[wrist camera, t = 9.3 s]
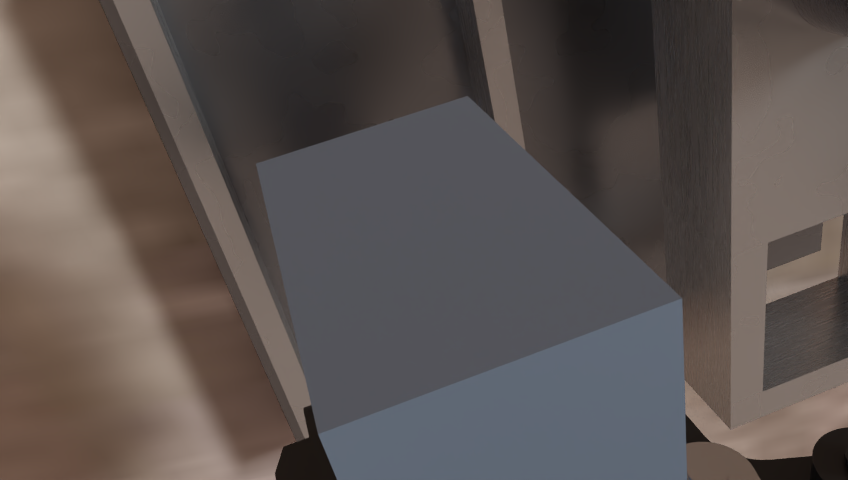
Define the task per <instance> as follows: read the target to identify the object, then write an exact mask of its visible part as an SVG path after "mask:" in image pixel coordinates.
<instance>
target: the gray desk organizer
mask: <svg viewBox="0 0 848 480" xmlns="http://www.w3.org/2000/svg"><path fill="white" fill-rule="evenodd" d="M99 1H100V3H101V6H102V8H103V10H104V12H105V15H106V17H107V19H108V21H109V23H110V26H111V28H112V30H113V32H114V35H115V37H116V39H117V41H118V44H119V46H120V48H121V50H122V53H123V55H124V57H125V59H126V61H127V64H128V66H129V68H130V70H131V73H132V75H133V77H134V79H135V82H136V84H137V86H138V88H139V91H140V93H141V95H142V97H143V99H144V102H145V104H146V106H147V108H148V111H149V113H150V115H151V117H152V120H153V122H154V124H155V126H156V129H157V131H158V133H159V135H160V137H161V140H162V142H163V144H164V146H165V149H166V151H167V153H168V155H169V158H170V160H171V162H172V164H173V167H174V169H175V171H176V173H177V175H178V178H179V180H180V182H181V184H182V187H183V189H184V191H185V193H186V196H187V198H188V200H189V202H190V205H191V207H192V209H193V211H194V213H195V216H196V218H197V220H198V222H199V225H200V227H201V229H202V231H203V234H204V236H205V238H206V240H207V242H208V245H209V247H210V249H211V251H212V254H213V256H214V258H215V260H216V263H217V265H218V267H219V269H220V272H221V274H222V276H223V278H224V280H225V283H226V285H227V287H228V289H229V292H230V294H231V296H232V298H233V301H234V303H235V305H236V307H237V310H238V312H239V314H240V316H241V318H242V321H243V323H244V325H245V327H246V330H247V332H248V334H249V336H250V339H251V341H252V343H253V345H254V348H255V350H256V352H257V354H258V356H259V359H260V361H261V363H262V365H263V368H264V370H265V372H266V374H267V377H268V379H269V381H270V383H271V386H272V388H273V390H274V392H275V394H276V397H277V399H278V401H279V403H280V406H281V408H282V410H283V412H284V415H285V417H286V419H287V421H288V424H289V426H290V428H291V430H292V432H293V435H294V437H295V439H296V441H297V442H298V441H301V440H303V439H306V438H309V435H308V430H307V425H306V421H305V416H304V410H303V408H304V407H307V406H309V405H311V401H310V397H309V393H308V388H307V384H306V379H305V375H304V371H303V366H302V362H301V358H300V353H299V349H298V345H297V340H296V336H295V332H294V327H293V323H292V319H291V314H290V310H289V306H288V301H287V297H286V292H285V288H284V284H283V279H282V275H281V271H280V266H279V262H278V258H277V253H276V249H275V245H274V240H273V236H272V232H271V227H270V223H269V219H268V214H267V210H266V205H265V201H264V197H263V192H262V188H261V184H260V179H259V175H258V171H257V166H256V163H259V162H262V161H266V160H269V159H272V158H275V157H278V156H281V155H284V154H287V153H291V152H294V151H297V150H300V149H303V148H306V147H309V146H312V145H316V144H319V143H322V142H325V141H328V140H331V139H334V138H337V137H341V136H344V135H347V134H350V133H353V132H356V131H359V130H362V129H366V128H369V127H372V126H375V125H378V124H381V123H384V122H388V121H391V120H394V119H397V118H400V117H403V116H406V115H409V114H413V113H416V112H419V111H422V110H425V109H428V108H431V107H434V106H438V105H441V104H444V103H447V102H450V101H453V100H456V99H459V98H463V97H466V96H468V97H469V98H470V99H471V100H473V101H474V102H475V103H476V104H477V105H478V106H479V107H480V108H481V109H482V110H483V111H484V112H485V113H486V114H487V115H488V116H489V117H491V118H492V119H493V120H494V121H495V122H496V123H497V124H498V125H499V126H500V127H501V128H502V129H503V130H504V131H505V132H506V133H508V134H509V135H510V136H511V137H512V138H513V139H514V140H515V141H516V142H517V143H518V144H519V145H520V146H521V147H522V148H523V149H524V150H526V151H527V152H528V153H529V154H530V155H531V156H532V157H533V158H534V159H535V160H536V161H537V162H538V163H539V164H540V165H541V166H543V167H544V168H545V169H546V170H547V171H548V172H549V173H550V174H551V175H552V176H553V177H554V178H555V179H556V180H557V181H558V182H559V183H561V184H562V185H563V186H564V187H565V188H566V189H567V190H568V191H569V192H570V193H571V194H572V195H573V196H574V197H575V198H576V199H578V200H579V201H580V202H581V203H582V204H583V205H584V206H585V207H586V208H587V209H588V210H589V211H590V212H591V213H592V214H593V215H594V216H596V217H597V218H598V219H599V220H600V221H601V222H602V223H603V224H604V225H605V226H606V227H607V228H608V229H609V230H610V231H611V232H612V233H614V234H615V235H616V236H617V237H618V238H619V239H620V240H621V241H622V242H623V243H624V244H625V245H626V246H627V247H628V248H629V249H631V250H632V251H633V252H634V253H635V254H636V255H637V256H638V257H639V258H640V259H641V260H642V261H643V262H644V263H645V264H646V265H647V266H649V267H650V268H651V269H652V270H653V271H654V272H655V273H656V274H657V275H658V276H659V277H660V278H661V279H662V280H663V281H664V282H666V283H667V284H668V285H669V286H670V287H671V288H672V289H673V290H674V291H675V292H676V293H677V294H678V295H679V296H680V297H681V298H682V308H683V345H684V380H685V381H686V382H687V383H688V384H689V385H690V386H691V387H692V388H693V390H694V391H695V392H696V393H697V394H698V395H699V396H700V397H701V398H702V399H703V400H704V401H705V403H706V404H707V405H708V406H709V407H710V408H711V409H712V410H713V411H714V412H715V413H716V414H717V416H718V417H719V418H720V419H721V420H722V421H723V422H724V423H725V424H726V425H727V426H728V427H729V429H730V430H731V429H734V428H736V427H738V426H741V425H743V424H746V423H748V422H751V421H753V420H756V419H758V418H761V417H763V416H766V415H768V414H770V413H773V412H775V411H778V410H780V409H783V408H785V407H788V406H790V405H793V404H795V403H798V402H800V401H802V400H805V399H807V398H810V397H812V396H815V395H817V394H820V393H822V392H825V391H827V390H830V389H832V388H834V387H837V386H839V385H842V384H844V383H847V382H848V0H99ZM841 215H844V219H843V229H842V239H841V249H840V260H839V270H838V277H836V278H834V279H831V280H828V281H826V282H823V283H820V284H818V285H815V286H813V287H810V288H807V289H805V290H802V291H800V292H797V293H794V294H792V295H789V296H787V297H784V298H781V299H779V300H776V301H774V302H771V303H768V304H766V282H767V270H769V269H772V268H775V267H777V266H780V265H783V264H785V263H788V262H791V261H793V260H796V259H799V258H801V257H804V256H807V255H809V254H812V253H814V252H817V251H820V250H821V238H822V226H823V222H825V221H828V220H830V219H833V218H836V217H839V216H841Z"/></svg>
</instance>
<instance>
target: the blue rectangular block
mask: <svg viewBox="0 0 848 480" xmlns="http://www.w3.org/2000/svg"><path fill="white" fill-rule="evenodd" d="M256 166H257V171H258V175H259V179H260V184H261V188H262V192H263V197H264V201H265V205H266V210H267V214H268V219H269V223H270V227H271V232H272V236H273V240H274V245H275V249H276V253H277V258H278V262H279V266H280V271H281V275H282V279H283V284H284V288H285V292H286V297H287V301H288V306H289V310H290V314H291V319H292V323H293V327H294V332H295V336H296V340H297V345H298V349H299V353H300V358H301V362H302V366H303V371H304V375H305V379H306V384H307V388H308V393H309V397H310V401H311V406H312V410H313V414H314V419H315V423H316V427H317V432H318V435H319V438H320V440H321V442H322V445H323V447H324V450H325V452H326V454H327V457H328V459H329V461H330V464H331V466H332V469H333V471H334V473H335V476H336V478H337V480H687V456H686V419H685V382H684V345H683V308H682V298H681V297H680V296H679V295H678V294H677V293H676V292H675V291H674V290H673V289H672V288H671V287H670V286H669V285H668V284H667V283H666V282H664V281H663V280H662V279H661V278H660V277H659V276H658V275H657V274H656V273H655V272H654V271H653V270H652V269H651V268H650V267H649V266H647V265H646V264H645V263H644V262H643V261H642V260H641V259H640V258H639V257H638V256H637V255H636V254H635V253H634V252H633V251H632V250H631V249H629V248H628V247H627V246H626V245H625V244H624V243H623V242H622V241H621V240H620V239H619V238H618V237H617V236H616V235H615V234H614V233H612V232H611V231H610V230H609V229H608V228H607V227H606V226H605V225H604V224H603V223H602V222H601V221H600V220H599V219H598V218H597V217H596V216H594V215H593V214H592V213H591V212H590V211H589V210H588V209H587V208H586V207H585V206H584V205H583V204H582V203H581V202H580V201H579V200H578V199H576V198H575V197H574V196H573V195H572V194H571V193H570V192H569V191H568V190H567V189H566V188H565V187H564V186H563V185H562V184H561V183H559V182H558V181H557V180H556V179H555V178H554V177H553V176H552V175H551V174H550V173H549V172H548V171H547V170H546V169H545V168H544V167H543V166H541V165H540V164H539V163H538V162H537V161H536V160H535V159H534V158H533V157H532V156H531V155H530V154H529V153H528V152H527V151H526V150H524V149H523V148H522V147H521V146H520V145H519V144H518V143H517V142H516V141H515V140H514V139H513V138H512V137H511V136H510V135H509V134H508V133H506V132H505V131H504V130H503V129H502V128H501V127H500V126H499V125H498V124H497V123H496V122H495V121H494V120H493V119H492V118H491V117H489V116H488V115H487V114H486V113H485V112H484V111H483V110H482V109H481V108H480V107H479V106H478V105H477V104H476V103H475V102H474V101H473V100H471V99H470V98H469V97H468V96H466V97H463V98H459V99H456V100H453V101H450V102H447V103H444V104H441V105H438V106H434V107H431V108H428V109H425V110H422V111H419V112H416V113H413V114H409V115H406V116H403V117H400V118H397V119H394V120H391V121H388V122H384V123H381V124H378V125H375V126H372V127H369V128H366V129H362V130H359V131H356V132H353V133H350V134H347V135H344V136H341V137H337V138H334V139H331V140H328V141H325V142H322V143H319V144H316V145H312V146H309V147H306V148H303V149H300V150H297V151H294V152H291V153H287V154H284V155H281V156H278V157H275V158H272V159H269V160H266V161H262V162H259V163H256Z"/></svg>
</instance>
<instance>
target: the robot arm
mask: <svg viewBox="0 0 848 480" xmlns="http://www.w3.org/2000/svg"><path fill="white" fill-rule="evenodd" d="M303 410H304V416H305V421H306V425H307V430H308V435H309V438H306V439H303V440H301V441H298V442H295V443H292V444H290V445H287V446H284V447H283V450H282V453H281V456H280V459H279V463H278V466H277V469H276V472H275V476H276V480H337V478H336V476H335V473H334V471H333V469H332V466H331V464H330V461H329V459H328V457H327V454H326V452H325V450H324V447H323V445H322V442H321V440H320V438H319V435H318V432H317V427H316V423H315V419H314V414H313V410H312V406H311V405H309V406H307V407H304V408H303ZM685 419H686V456H687V480H848V428H841V429H836V430H834V431H831V432H829V433H827V434H825V435H823V436H822V437H821V438H820V439H819V440H818V441H817V443H816V444H815V446H814V449H813V455H812V456H808V457H797V458H786V459H775V460H754V459H748V458H745V457H744V456H742V455H741V454H740V453H738V452H737V451H735V450H733V449H731V448H729V447H727V446H724V445H721V444H717V443H711V442H710V441H709V440H708V439H707V438H706V437H705V436H704V435H703V434H702V433H701V432H700V430H699V429H698V428H697V427H696V426H695V425H694V423H693V422H692V421H691V420H690V419H689V418H688V417H687V415H686V414H685Z"/></svg>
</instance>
